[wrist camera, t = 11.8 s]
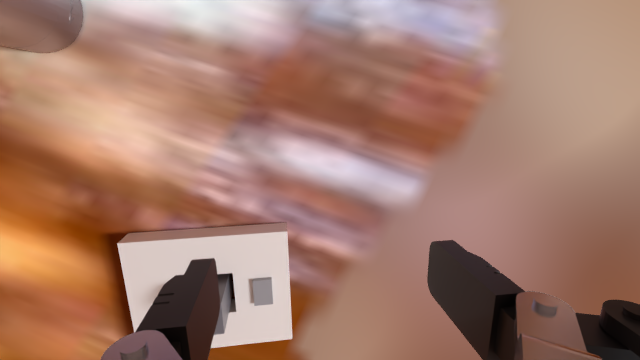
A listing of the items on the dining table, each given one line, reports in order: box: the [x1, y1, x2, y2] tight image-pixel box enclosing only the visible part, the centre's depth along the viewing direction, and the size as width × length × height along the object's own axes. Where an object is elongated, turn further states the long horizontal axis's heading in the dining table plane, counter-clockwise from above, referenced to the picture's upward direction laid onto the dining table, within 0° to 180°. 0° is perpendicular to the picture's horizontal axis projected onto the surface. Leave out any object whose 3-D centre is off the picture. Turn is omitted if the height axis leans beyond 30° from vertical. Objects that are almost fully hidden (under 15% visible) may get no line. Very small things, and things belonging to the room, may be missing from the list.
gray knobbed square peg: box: [214, 273, 233, 335], centre depth 39 cm, size 4×4×10 cm
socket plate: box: [117, 223, 292, 348], centre depth 42 cm, size 20×16×4 cm
